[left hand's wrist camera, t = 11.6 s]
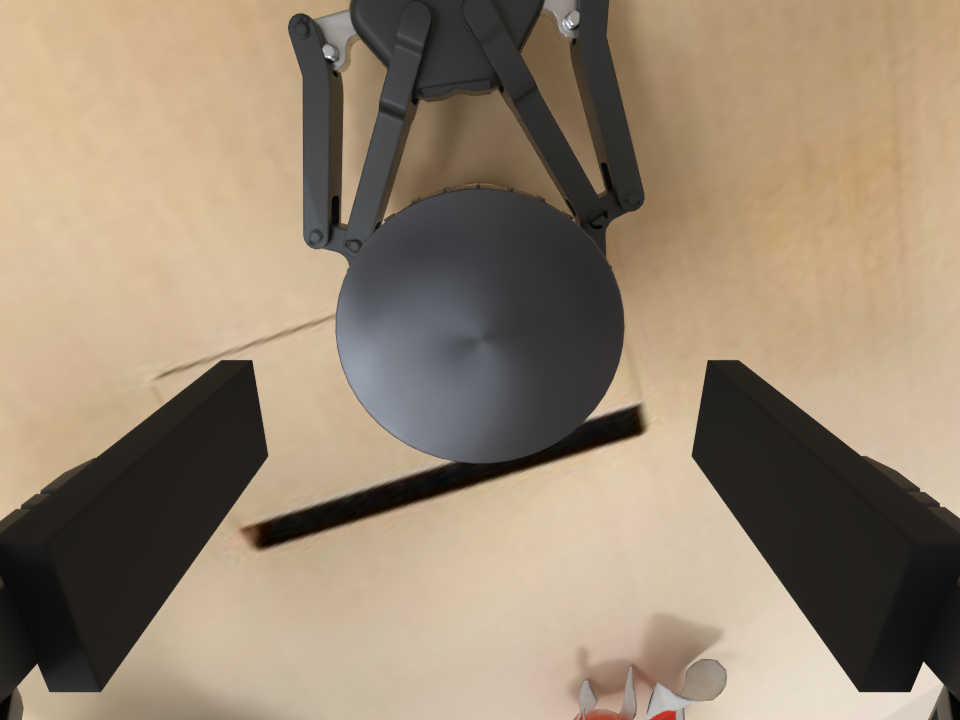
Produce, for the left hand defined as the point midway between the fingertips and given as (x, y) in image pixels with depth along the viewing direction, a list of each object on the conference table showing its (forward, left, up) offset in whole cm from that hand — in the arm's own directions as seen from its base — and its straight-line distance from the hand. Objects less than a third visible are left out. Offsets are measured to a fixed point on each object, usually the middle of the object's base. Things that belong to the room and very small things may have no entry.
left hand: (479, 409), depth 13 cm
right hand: (-4, -2, -15) cm, 16 cm away
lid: (0, 0, -6) cm, 6 cm away
